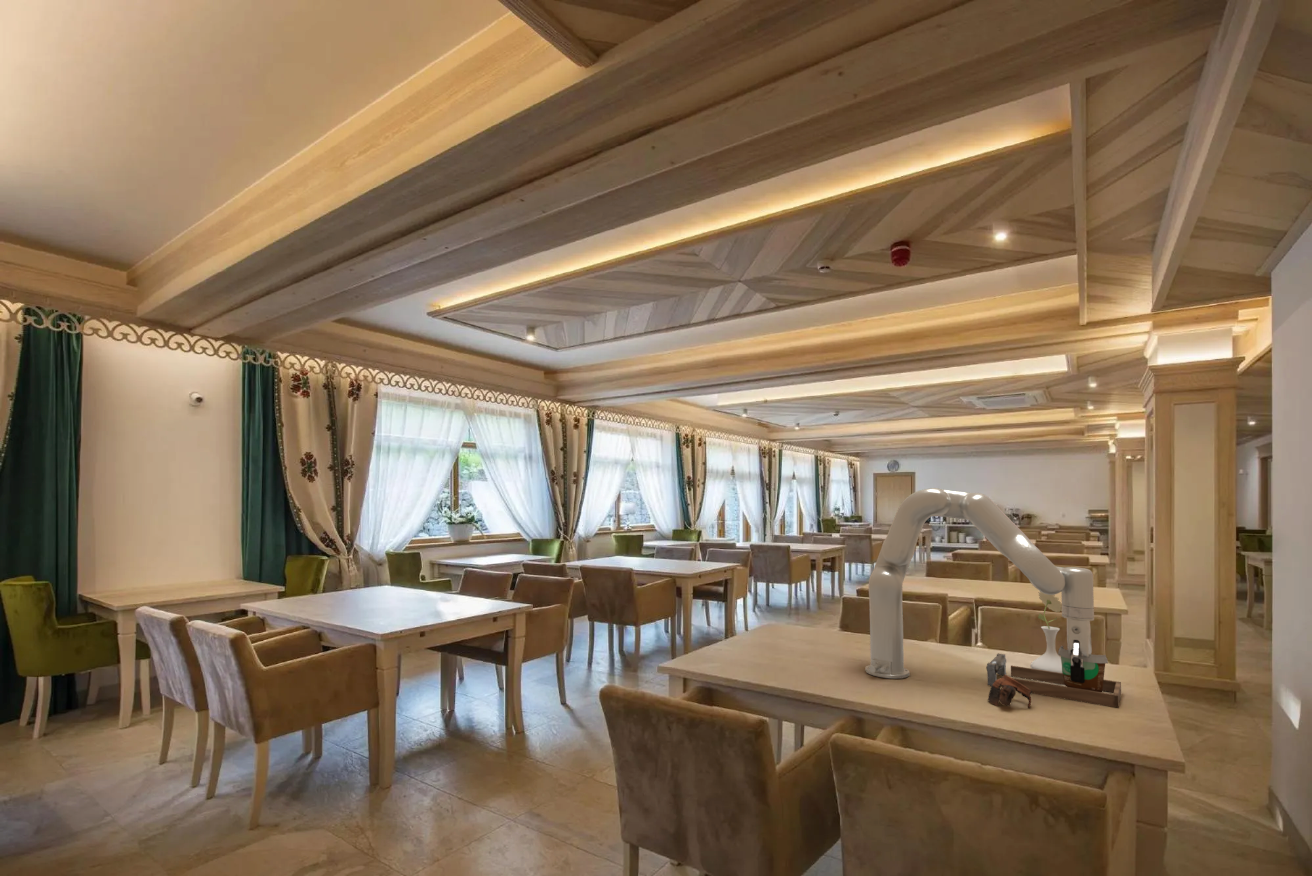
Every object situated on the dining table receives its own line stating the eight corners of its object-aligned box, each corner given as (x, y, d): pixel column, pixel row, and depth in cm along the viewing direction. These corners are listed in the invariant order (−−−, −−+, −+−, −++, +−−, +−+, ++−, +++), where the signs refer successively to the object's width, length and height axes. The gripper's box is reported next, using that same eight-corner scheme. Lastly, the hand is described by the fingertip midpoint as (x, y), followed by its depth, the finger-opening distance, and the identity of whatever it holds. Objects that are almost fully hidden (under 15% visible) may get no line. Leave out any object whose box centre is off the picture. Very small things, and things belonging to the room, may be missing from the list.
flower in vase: (1080, 680, 192) (1077, 594, 194) (1038, 677, 195) (1035, 592, 197) (1062, 668, 205) (1059, 588, 207) (1023, 666, 207) (1020, 586, 209)
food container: (1048, 683, 183) (1048, 646, 184) (1061, 681, 186) (1060, 645, 187) (1095, 695, 172) (1095, 656, 173) (1108, 693, 175) (1108, 655, 176)
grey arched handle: (997, 687, 185) (996, 665, 185) (985, 685, 186) (985, 663, 187) (1009, 673, 199) (1008, 653, 200) (998, 671, 201) (997, 651, 202)
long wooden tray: (1118, 707, 168) (1117, 695, 168) (1001, 687, 184) (1000, 676, 184) (1121, 693, 180) (1120, 682, 180) (1011, 675, 197) (1011, 665, 197)
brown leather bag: (986, 698, 176) (1001, 671, 177) (1022, 721, 171) (1037, 693, 171) (982, 697, 167) (998, 670, 167) (1020, 722, 161) (1037, 693, 161)
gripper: (1091, 619, 172) (1092, 689, 171) (1096, 610, 185) (1097, 675, 184) (1058, 615, 176) (1059, 683, 175) (1065, 607, 190) (1066, 670, 189)
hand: (1078, 678), depth 180 cm, fingers closed on food container, 6 cm apart
